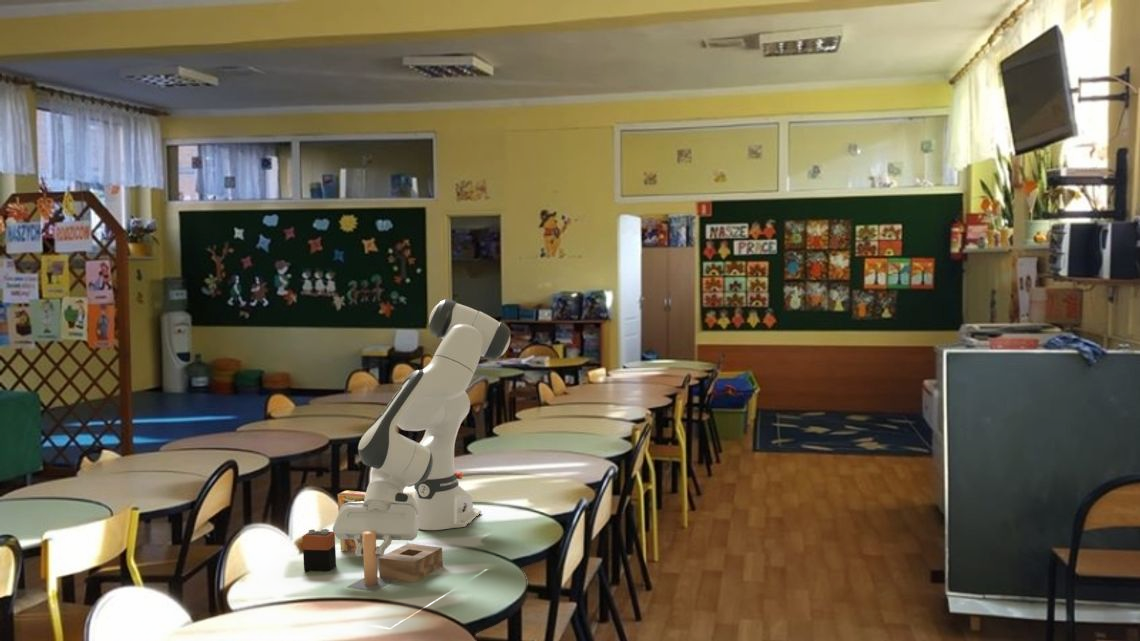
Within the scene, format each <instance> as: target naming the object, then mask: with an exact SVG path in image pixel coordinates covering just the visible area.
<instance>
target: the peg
mask: <svg viewBox="0 0 1140 641" xmlns="http://www.w3.org/2000/svg"><path fill="white" fill-rule="evenodd" d="M362 536H363V556H362V557H363V574H364V575H363V576H364V577H363V578H364V581H365V585H367V586H372V585H376V584H377V583H378V559H377V558H378V556H376V554H375V551H376V547H377V540H376V532H375V531H366V532H363V533H362Z"/></svg>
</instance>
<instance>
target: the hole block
mask: <svg viewBox="0 0 1140 641" xmlns="http://www.w3.org/2000/svg"><path fill="white" fill-rule="evenodd" d="M443 558H444V557H443V547H440V546H431V545H426V544H415V543H406V544H404V545H402V546H400V547H398V548H396V549H393V550H392V551H390V552H388V553H385V554H384V555H383V556H378V568H379V569H378V572H379V573H378V574H379V578H386V579H393V580H398V581H405V582H410V583H411V582H412V583H415V582H417V581H419V580H420V579H423V578H424V577H426V576H427V575H428V576H429V575H430V574H431V573H434V572H435V571H436V570H438V569H440V568H442V567H443V566H444V563H443Z"/></svg>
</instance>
